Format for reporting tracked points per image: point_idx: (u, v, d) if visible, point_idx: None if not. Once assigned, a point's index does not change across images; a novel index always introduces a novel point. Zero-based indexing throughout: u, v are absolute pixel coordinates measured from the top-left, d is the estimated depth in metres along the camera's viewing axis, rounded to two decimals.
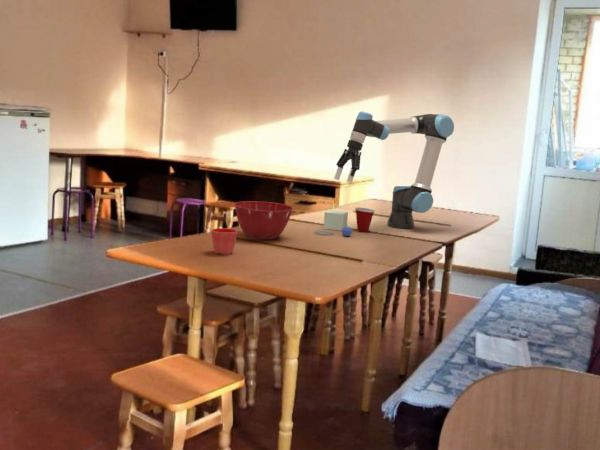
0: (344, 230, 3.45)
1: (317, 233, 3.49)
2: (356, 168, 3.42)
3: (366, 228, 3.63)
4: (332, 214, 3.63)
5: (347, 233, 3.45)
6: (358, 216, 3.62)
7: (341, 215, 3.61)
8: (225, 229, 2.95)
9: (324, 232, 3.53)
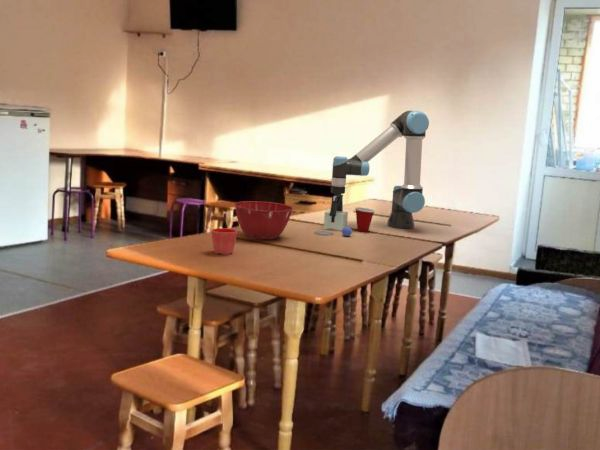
0: (344, 230, 3.45)
1: (317, 233, 3.49)
2: (331, 214, 3.59)
3: (366, 228, 3.63)
4: None
5: (347, 233, 3.45)
6: (358, 216, 3.62)
7: (341, 215, 3.61)
8: (225, 229, 2.95)
9: (324, 232, 3.53)
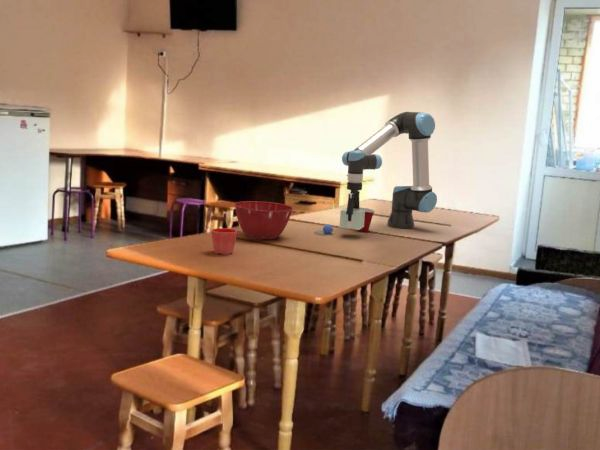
0: (328, 230, 3.47)
1: (317, 233, 3.49)
2: (348, 213, 3.37)
3: (366, 228, 3.63)
4: None
5: (324, 229, 3.48)
6: None
7: (358, 213, 3.39)
8: (225, 229, 2.95)
9: None
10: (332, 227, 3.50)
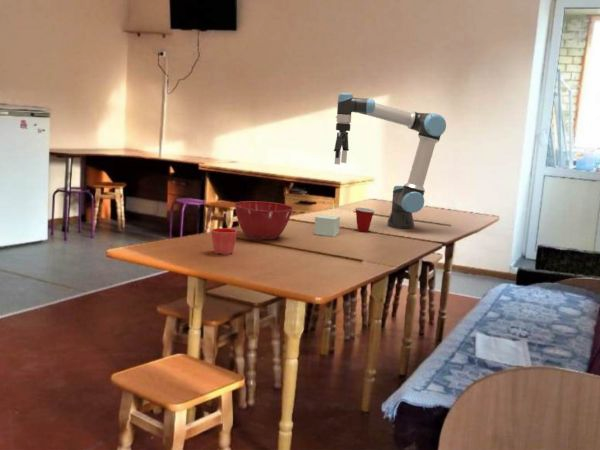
0: None
1: None
2: (336, 149, 3.53)
3: (366, 228, 3.63)
4: (323, 219, 3.45)
5: None
6: (358, 216, 3.62)
7: (332, 220, 3.43)
8: (225, 229, 2.95)
9: None
10: None
